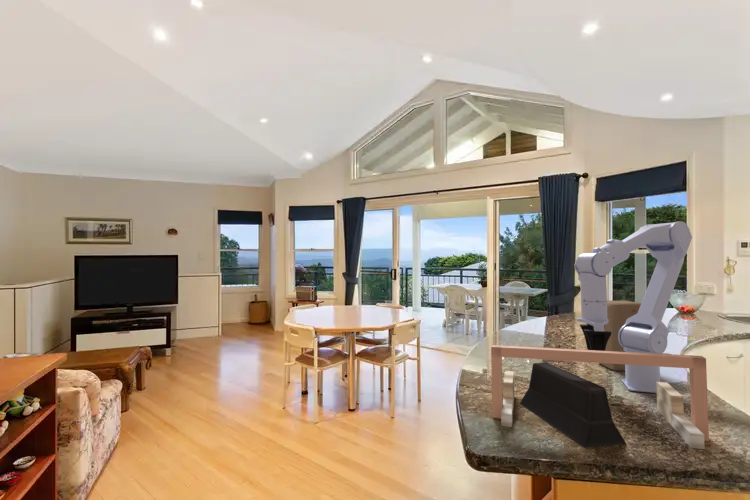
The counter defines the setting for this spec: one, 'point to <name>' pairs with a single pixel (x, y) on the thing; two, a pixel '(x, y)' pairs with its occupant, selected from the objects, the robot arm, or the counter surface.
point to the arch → (629, 358)
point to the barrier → (571, 406)
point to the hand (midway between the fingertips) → (595, 356)
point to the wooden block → (618, 326)
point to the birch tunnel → (666, 404)
